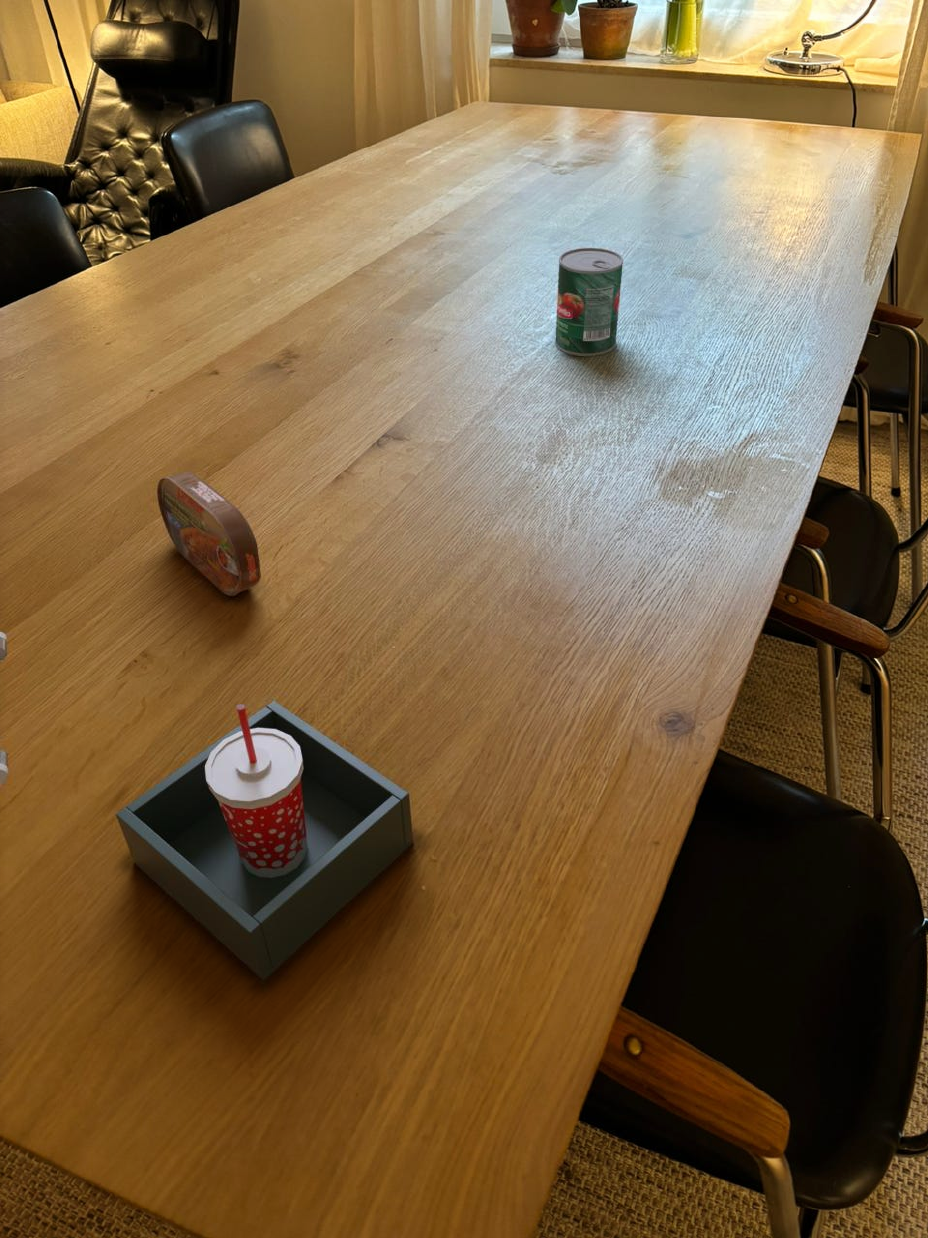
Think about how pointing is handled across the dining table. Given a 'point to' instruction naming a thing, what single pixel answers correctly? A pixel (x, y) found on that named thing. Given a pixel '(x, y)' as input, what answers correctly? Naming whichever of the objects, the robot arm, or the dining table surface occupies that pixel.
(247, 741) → the beverage cup
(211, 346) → the dining table surface
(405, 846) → the bin
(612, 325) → the canned tomato
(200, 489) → the tin
